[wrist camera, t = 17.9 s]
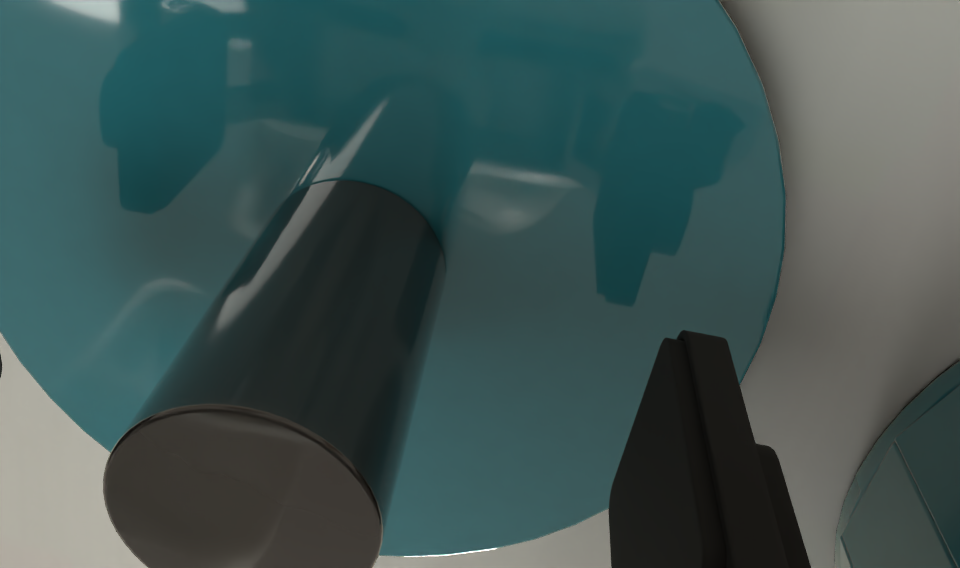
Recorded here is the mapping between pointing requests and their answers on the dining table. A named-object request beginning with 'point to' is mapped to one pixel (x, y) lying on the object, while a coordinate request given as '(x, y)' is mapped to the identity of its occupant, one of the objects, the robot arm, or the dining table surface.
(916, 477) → the pot
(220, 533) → the lid
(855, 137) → the dining table surface
